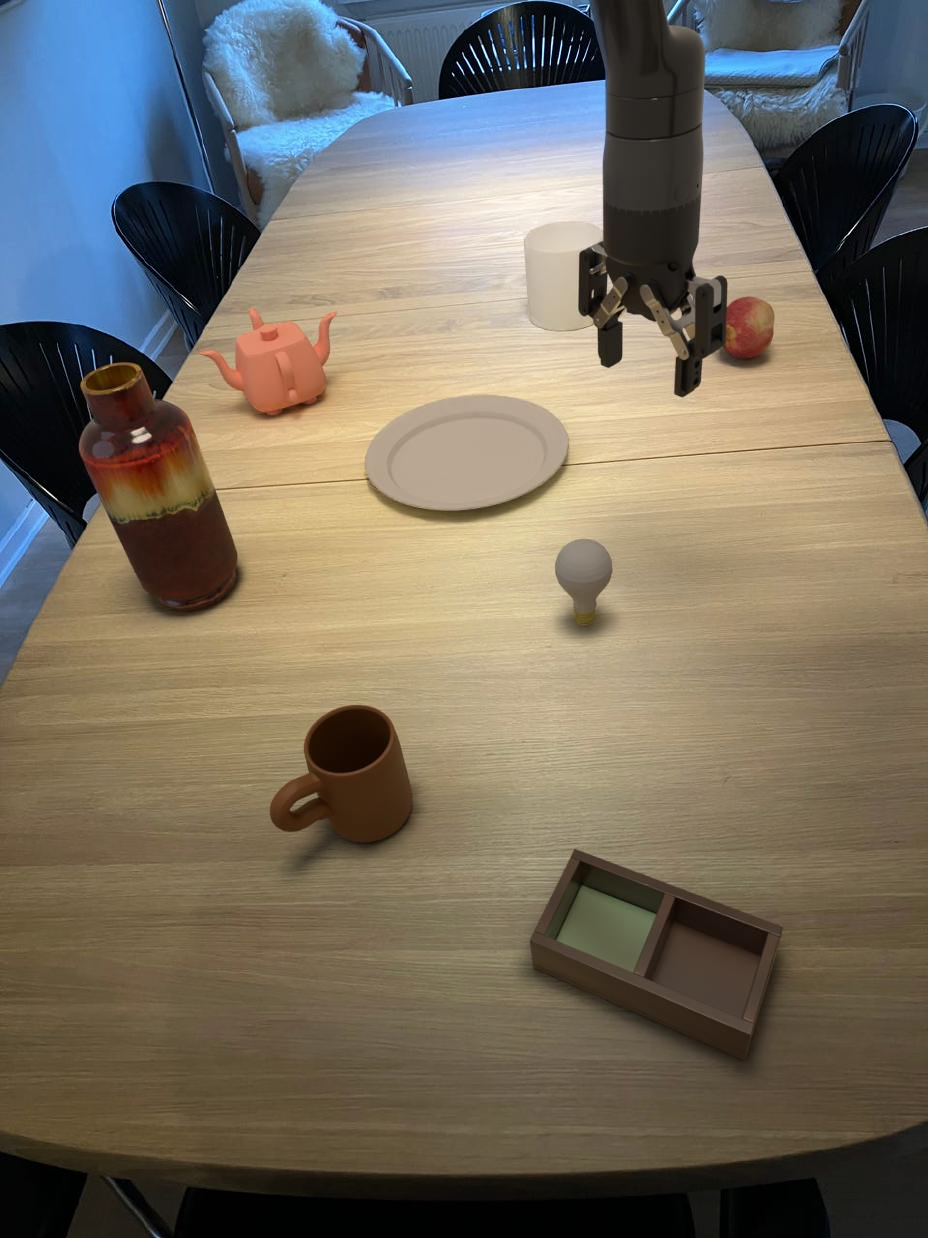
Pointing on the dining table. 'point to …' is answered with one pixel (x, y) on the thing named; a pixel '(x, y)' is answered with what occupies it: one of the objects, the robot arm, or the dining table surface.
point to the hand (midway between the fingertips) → (647, 377)
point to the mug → (349, 777)
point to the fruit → (748, 327)
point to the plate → (466, 452)
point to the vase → (156, 490)
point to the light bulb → (584, 575)
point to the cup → (557, 273)
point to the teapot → (277, 364)
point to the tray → (657, 951)
